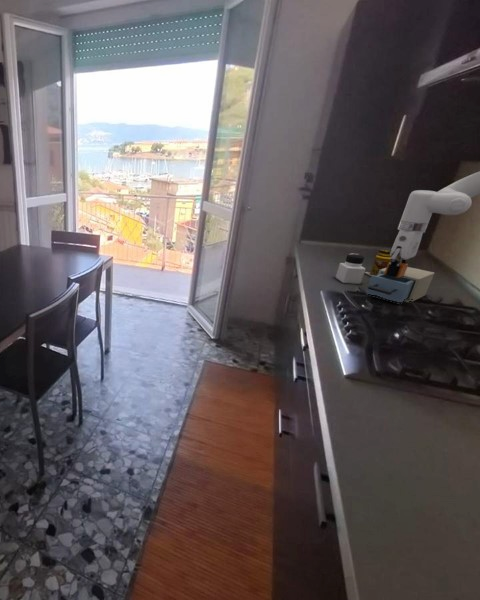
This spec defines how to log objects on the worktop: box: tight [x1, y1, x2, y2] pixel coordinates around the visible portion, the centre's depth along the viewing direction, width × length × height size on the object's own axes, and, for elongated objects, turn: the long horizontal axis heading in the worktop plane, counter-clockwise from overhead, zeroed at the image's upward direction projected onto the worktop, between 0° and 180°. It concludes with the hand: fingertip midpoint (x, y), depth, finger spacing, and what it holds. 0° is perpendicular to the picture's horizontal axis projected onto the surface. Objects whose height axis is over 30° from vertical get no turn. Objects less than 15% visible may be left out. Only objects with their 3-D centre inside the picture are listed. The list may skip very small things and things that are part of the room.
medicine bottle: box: [335, 253, 367, 285], centre depth 155 cm, size 7×7×12 cm
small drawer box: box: [378, 266, 435, 303], centre depth 142 cm, size 15×13×10 cm
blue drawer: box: [365, 273, 416, 305], centre depth 137 cm, size 20×11×8 cm, turn 121°
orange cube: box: [384, 262, 409, 278], centre depth 133 cm, size 5×5×5 cm
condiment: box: [364, 248, 392, 277], centre depth 162 cm, size 7×8×12 cm
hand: (394, 274), depth 134 cm, fingers closed on orange cube, 4 cm apart
